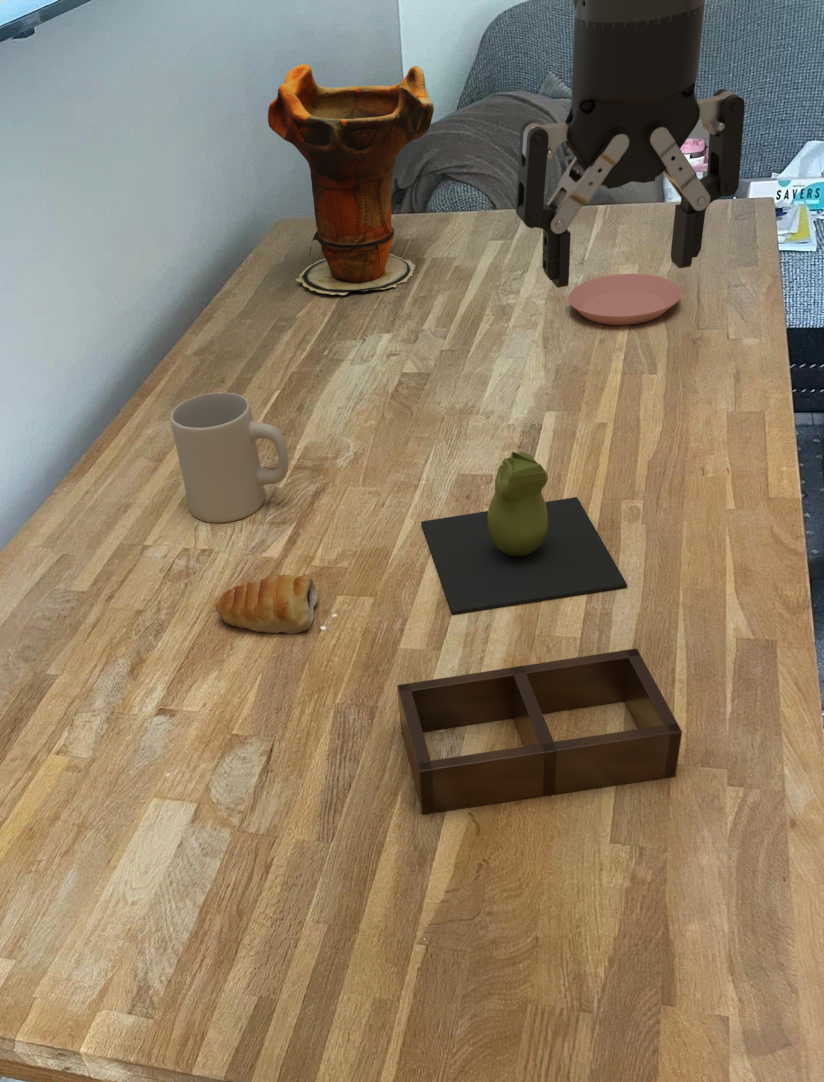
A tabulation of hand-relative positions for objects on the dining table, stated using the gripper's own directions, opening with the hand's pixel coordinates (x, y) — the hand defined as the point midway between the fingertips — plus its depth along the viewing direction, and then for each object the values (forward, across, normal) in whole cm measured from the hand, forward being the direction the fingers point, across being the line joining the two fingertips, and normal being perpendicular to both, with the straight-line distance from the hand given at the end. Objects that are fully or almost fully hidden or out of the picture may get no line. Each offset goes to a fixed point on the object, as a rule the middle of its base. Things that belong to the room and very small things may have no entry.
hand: (620, 273), depth 76 cm
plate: (+30, +23, +65) cm, 75 cm away
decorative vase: (+30, -8, +93) cm, 98 cm away
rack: (+30, -10, -15) cm, 35 cm away
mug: (+30, -30, +30) cm, 52 cm away
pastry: (+30, -28, +8) cm, 42 cm away
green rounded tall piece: (+30, -4, +12) cm, 32 cm away
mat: (+30, -4, +12) cm, 33 cm away
